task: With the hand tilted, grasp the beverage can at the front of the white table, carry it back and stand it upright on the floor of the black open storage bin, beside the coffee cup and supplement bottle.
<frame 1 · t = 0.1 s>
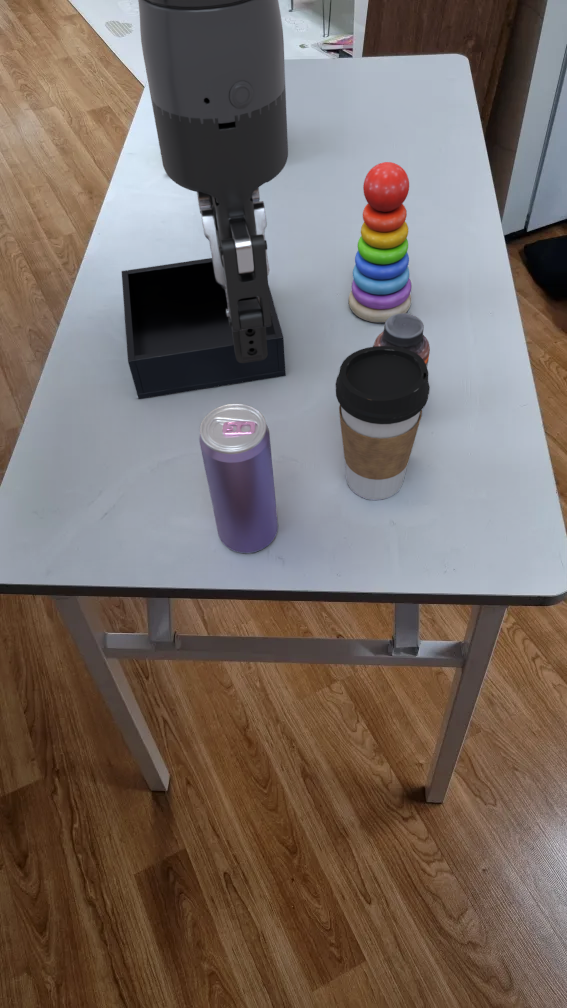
hand: (243, 320, 52), 25 cm above the table, tool pointing down, fingers open, 8 cm apart
black open storage bin: (204, 340, 90), on the table
beverage can: (248, 532, 72), on the table
stacking toy: (379, 307, 93), on the table
supplement bottle: (394, 406, 82), on the table
tissue box: (226, 154, 120), on the table
coffee cup: (374, 479, 75), on the table
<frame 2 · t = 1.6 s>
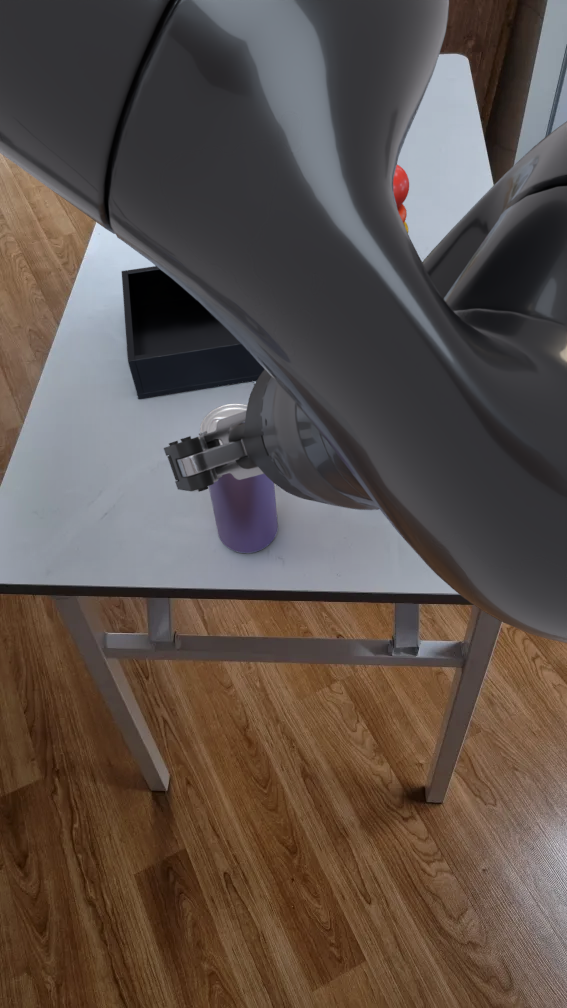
hand: (272, 432, 46), 25 cm above the table, tool tilted 45°, fingers open, 8 cm apart
nothing on the table moved.
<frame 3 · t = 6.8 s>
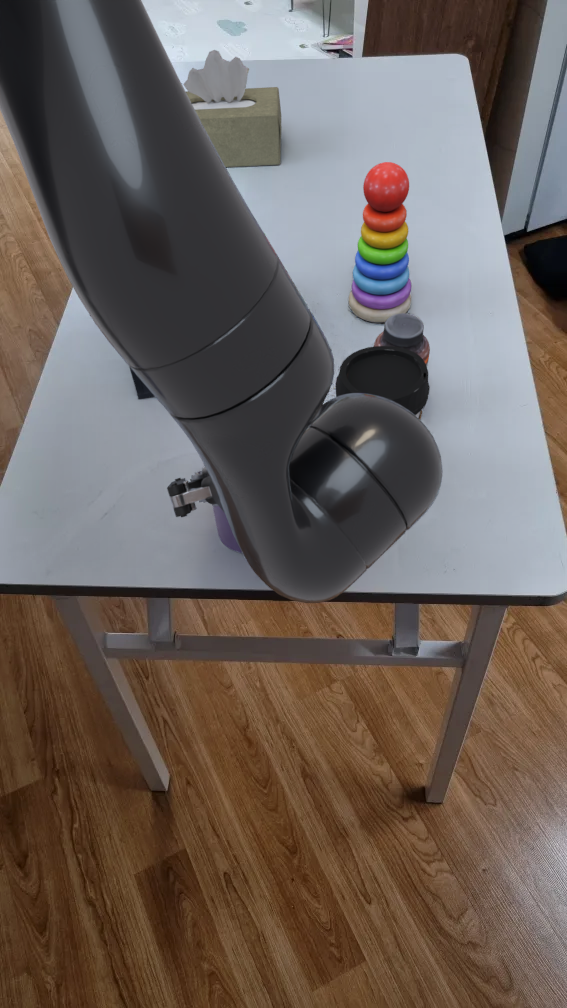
hand: (235, 472, 67), 7 cm above the table, tool tilted 45°, fingers closed on beverage can, 6 cm apart
beverage can: (248, 532, 72), on the table, touching gripper
everything else where it was.
when the fingers open (8 cm above the table, at t = 18.0 s): beverage can stays where it is, resting on black open storage bin.
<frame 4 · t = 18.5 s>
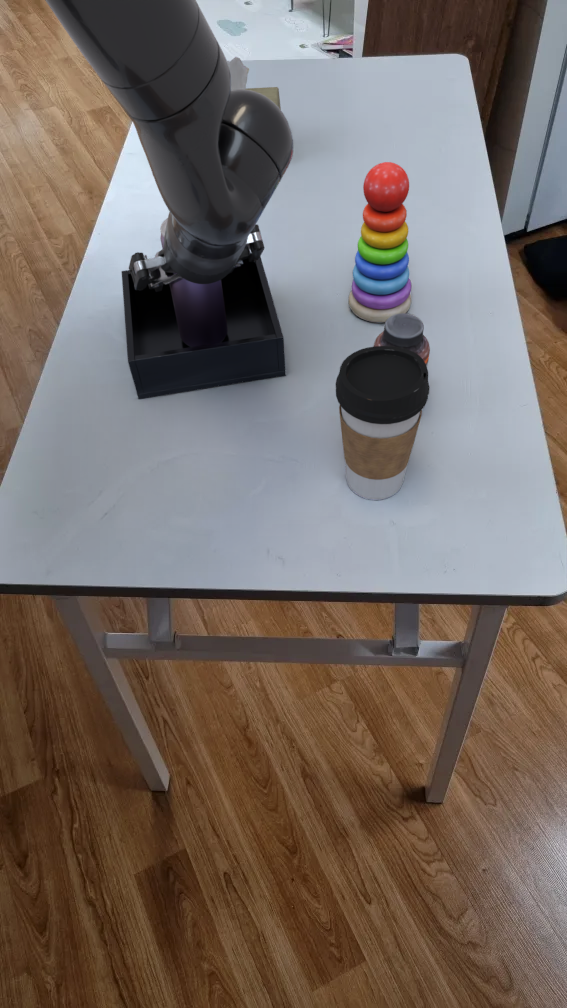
hand: (191, 273, 84), 9 cm above the table, tool tilted 45°, fingers open, 8 cm apart
beverage can: (204, 337, 90), point 1 cm above the table, touching black open storage bin
everything else where it was.
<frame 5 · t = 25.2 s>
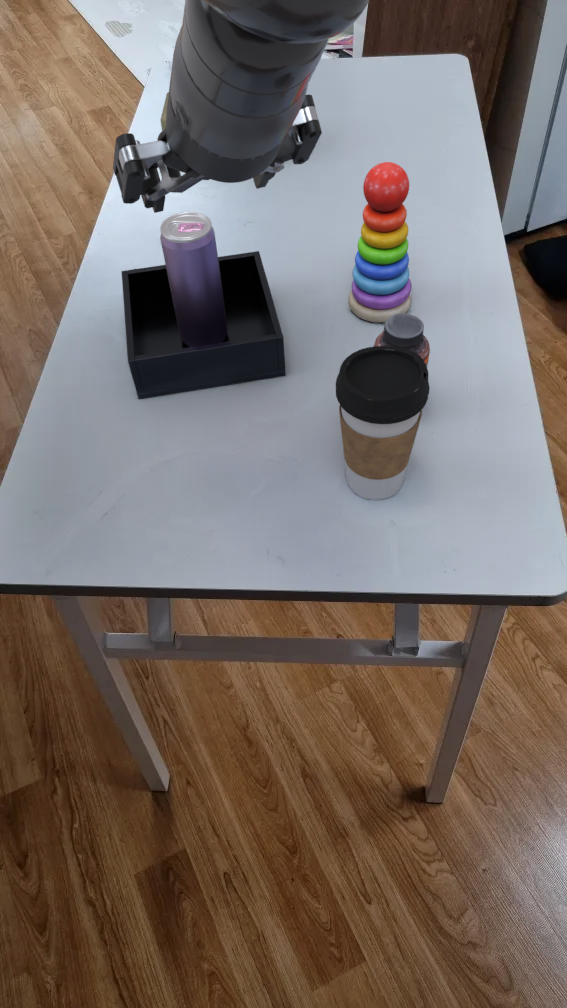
hand: (206, 187, 58), 29 cm above the table, tool tilted 45°, fingers open, 8 cm apart
nothing on the table moved.
at the end: beverage can inside the target area in the black open storage bin (0.1 cm from its centre), point 0.6 cm above the black open storage bin's base; beverage can tilted 0°; the gripper is holding nothing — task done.
